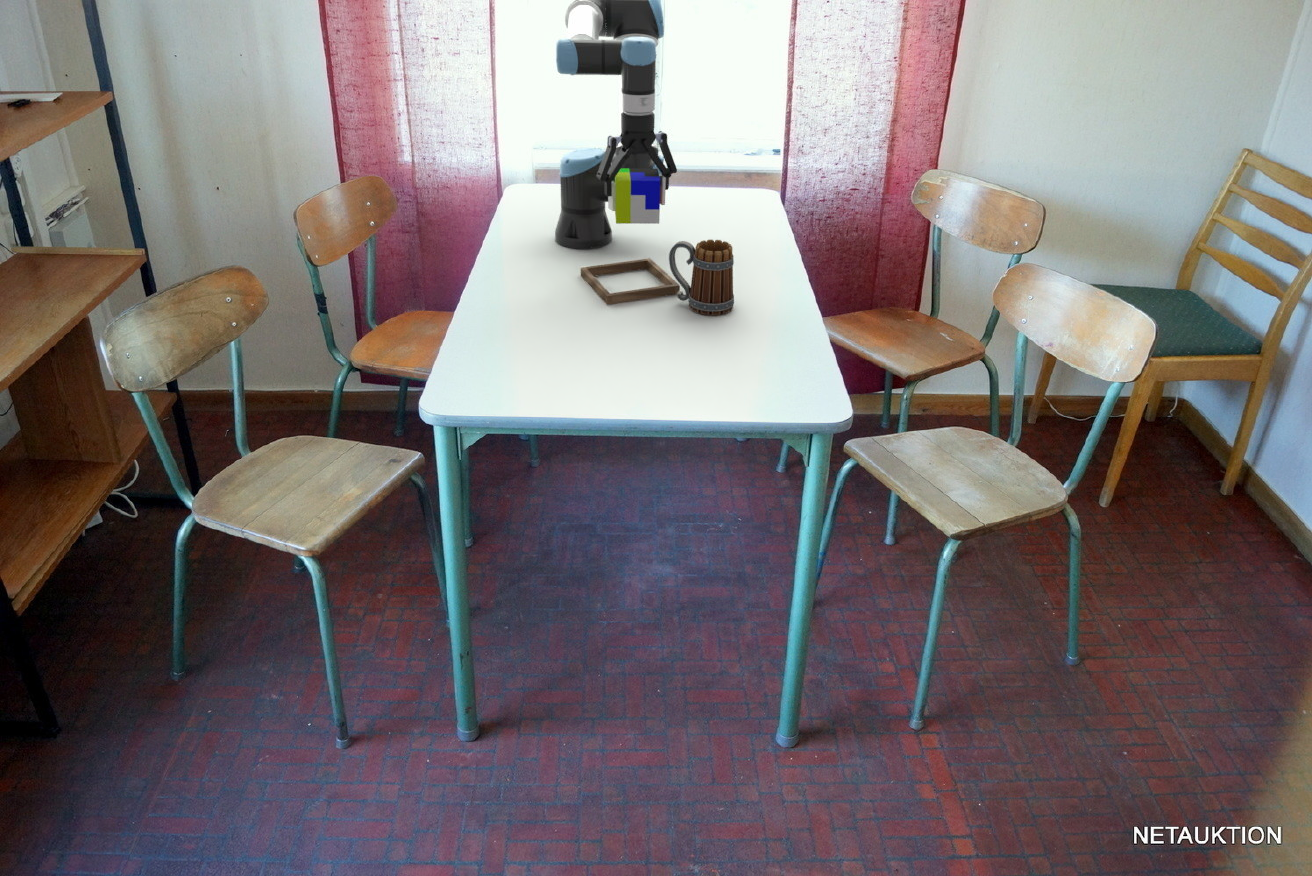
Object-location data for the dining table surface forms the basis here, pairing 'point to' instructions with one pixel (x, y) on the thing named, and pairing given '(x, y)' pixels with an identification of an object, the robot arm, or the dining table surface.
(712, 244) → the mug
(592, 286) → the square wooden frame
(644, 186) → the puzzle toy
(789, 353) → the dining table surface
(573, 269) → the dining table surface
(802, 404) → the dining table surface
